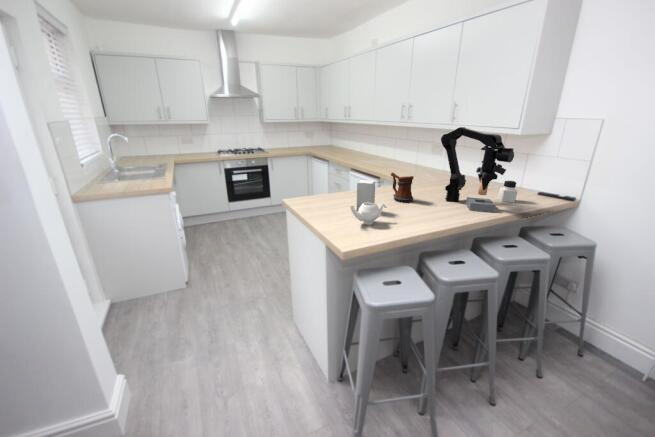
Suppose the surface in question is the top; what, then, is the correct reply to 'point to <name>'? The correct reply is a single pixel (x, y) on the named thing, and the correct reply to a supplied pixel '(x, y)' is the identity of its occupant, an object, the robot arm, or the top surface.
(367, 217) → the teapot
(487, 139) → the robot arm
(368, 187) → the skincare box
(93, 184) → the top surface
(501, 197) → the medicine bottle
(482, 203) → the socket block
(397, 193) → the mug
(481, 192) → the peg
